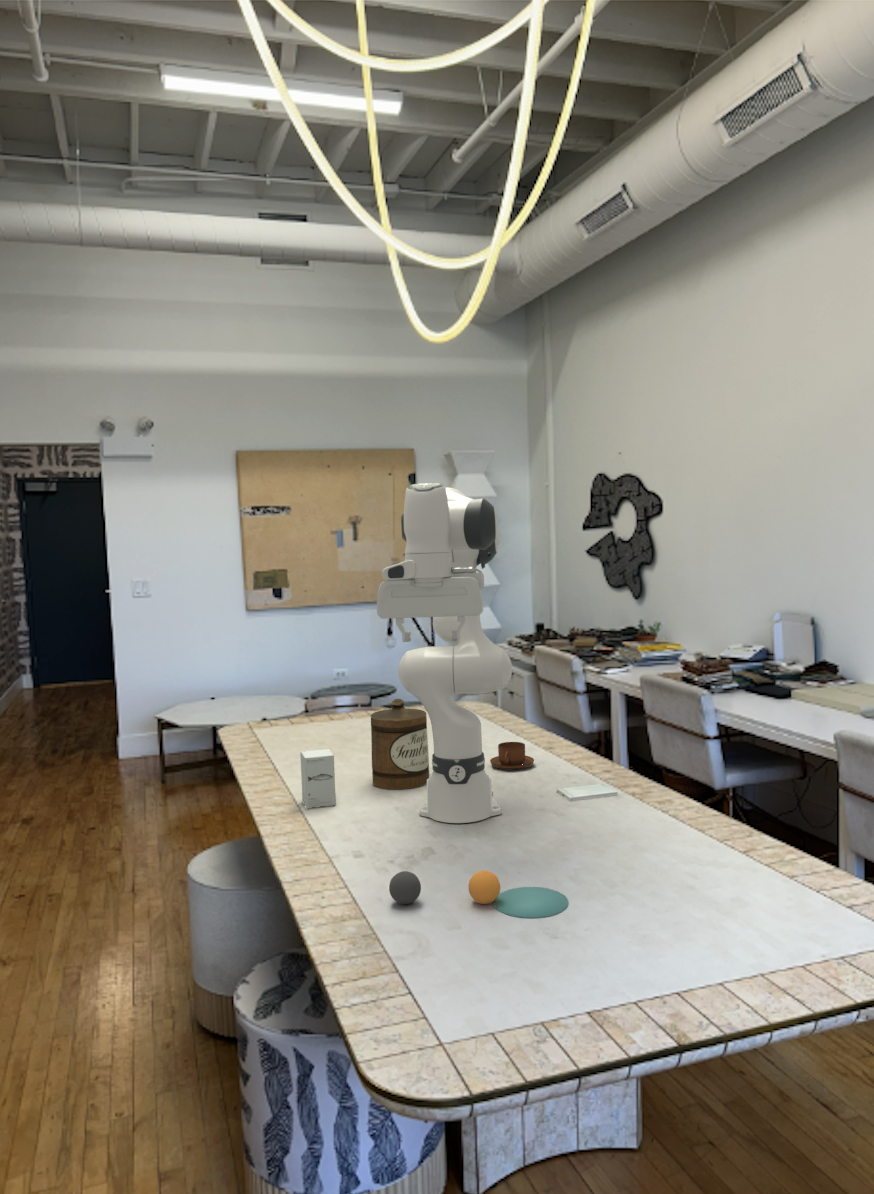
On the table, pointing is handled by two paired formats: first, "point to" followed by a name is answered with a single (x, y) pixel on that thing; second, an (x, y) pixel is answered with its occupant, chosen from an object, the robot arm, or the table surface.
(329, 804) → the supplement box
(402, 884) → the black ball
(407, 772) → the wooden container
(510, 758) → the cup and saucer
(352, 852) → the table surface
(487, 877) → the orange ball
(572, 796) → the hard drive
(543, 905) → the teal flat disc
